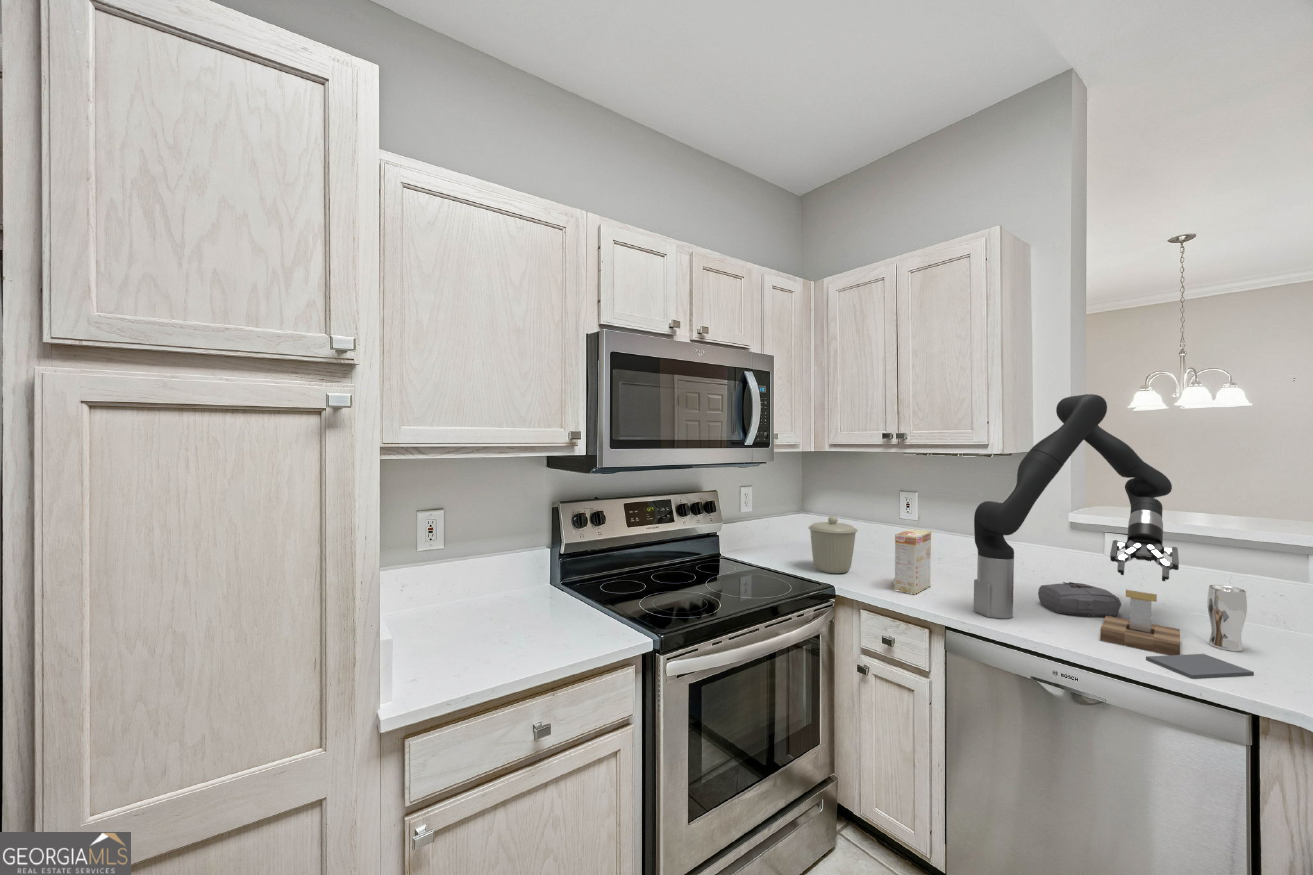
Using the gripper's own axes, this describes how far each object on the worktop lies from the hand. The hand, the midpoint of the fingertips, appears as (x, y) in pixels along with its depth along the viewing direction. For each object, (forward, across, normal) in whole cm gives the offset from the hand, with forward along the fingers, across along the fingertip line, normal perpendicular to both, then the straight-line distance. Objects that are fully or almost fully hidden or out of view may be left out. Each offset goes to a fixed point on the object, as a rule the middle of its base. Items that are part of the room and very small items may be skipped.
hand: (1142, 576), depth 149 cm
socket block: (+17, 0, +4) cm, 18 cm away
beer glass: (+10, +16, +11) cm, 22 cm away
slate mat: (+26, +11, -5) cm, 29 cm away
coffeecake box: (+13, -59, +9) cm, 61 cm away
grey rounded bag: (+4, -14, +18) cm, 23 cm away
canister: (+10, -90, +11) cm, 91 cm away
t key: (+17, 0, +4) cm, 18 cm away
